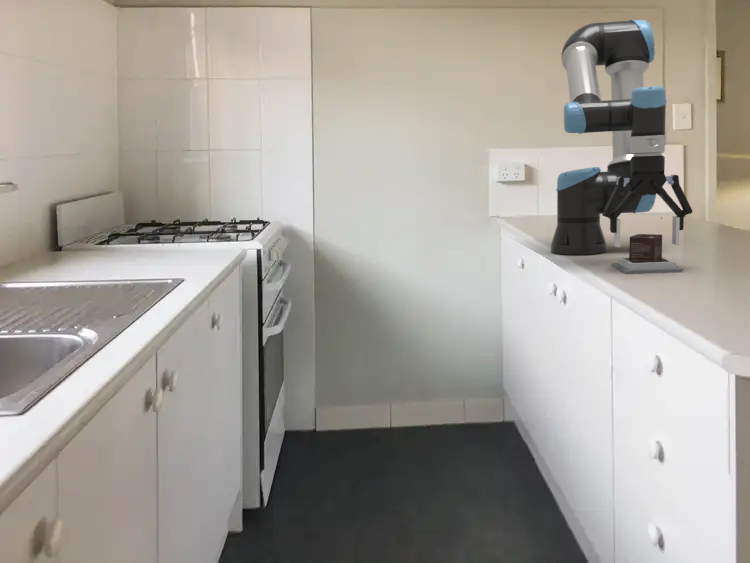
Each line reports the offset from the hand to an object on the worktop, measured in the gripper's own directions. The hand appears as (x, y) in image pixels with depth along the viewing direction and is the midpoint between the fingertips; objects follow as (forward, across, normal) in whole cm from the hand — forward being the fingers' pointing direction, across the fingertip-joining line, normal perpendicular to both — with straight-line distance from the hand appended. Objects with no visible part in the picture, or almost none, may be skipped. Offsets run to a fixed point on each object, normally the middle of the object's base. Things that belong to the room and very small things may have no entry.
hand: (646, 245), depth 182 cm
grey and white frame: (+6, 0, 0) cm, 6 cm away
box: (+5, 0, 0) cm, 5 cm away
